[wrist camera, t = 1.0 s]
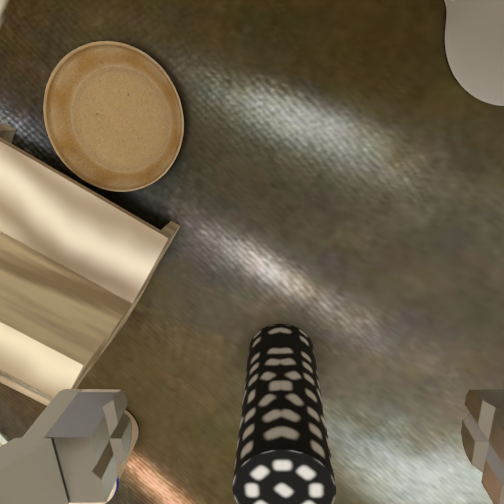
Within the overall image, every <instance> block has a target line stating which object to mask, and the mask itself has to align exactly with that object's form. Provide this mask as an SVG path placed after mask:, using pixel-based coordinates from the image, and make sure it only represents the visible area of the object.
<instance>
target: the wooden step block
mask: <svg viewBox="0 0 504 504" xmlns="http://www.w3.org/2000/svg"><path fill="white" fill-rule="evenodd" d="M15 132H16V129H14V128H12V127H11V126H9V125H7V124H0V382H1V383H3V384H5V385H7V386H9V387H11V388H13V389H15V390H17V391H19V392H21V393H23V394H25V395H27V396H29V397H31V398H33V399H35V400H37V401H39V402H41V403H43V404H45V405H47V406H48V405H49V403H50V402H51V401H52V400H53V398H54V397H55V396H56V395H57V393H58V392H59V391H61V390H64V389H76V388H77V387H78V385H79V384H80V383H81V381H82V380H83V379H84V377H85V376H86V375H87V373H88V372H89V371H90V369H91V368H92V367H93V365H94V364H95V363H96V361H97V360H98V359H99V357H100V356H101V355H102V353H103V352H104V351H105V349H106V348H107V347H108V345H109V344H110V343H111V341H112V340H113V339H114V337H115V336H116V335H117V333H118V332H119V331H120V329H121V328H122V327H123V325H124V324H125V323H126V321H127V320H128V319H129V317H130V315H131V313H132V312H133V310H134V308H135V306H136V304H137V303H138V301H139V299H140V297H141V295H142V294H143V292H144V290H145V288H146V286H147V285H148V283H149V281H150V279H151V277H152V276H153V274H154V272H155V270H156V269H157V267H158V265H159V263H160V261H161V260H162V258H163V256H164V254H165V252H166V251H167V249H168V247H169V245H170V243H171V242H172V240H173V238H174V236H175V234H176V233H177V231H178V229H179V227H180V225H178V224H176V223H175V222H173V221H170V222H169V223H168V224H167V225H166V226H165V227H164V228H163V229H162V230H159V229H158V228H156V227H154V226H152V225H151V224H149V223H147V222H146V221H144V220H142V219H140V218H139V217H137V216H135V215H133V214H132V213H130V212H128V211H127V210H125V209H123V208H121V207H120V206H118V205H116V204H115V203H113V202H111V201H109V200H108V199H106V198H104V197H102V196H101V195H99V194H97V193H96V192H94V191H92V190H90V189H89V188H87V187H85V186H83V185H82V184H80V183H78V182H77V181H75V180H73V179H71V178H70V177H68V176H66V175H64V174H63V173H61V172H59V171H58V170H56V169H54V168H52V167H51V166H49V165H47V164H45V163H44V162H42V161H40V160H39V159H37V158H35V157H33V156H32V155H30V154H28V153H27V152H25V151H23V150H21V149H20V148H18V147H16V146H14V145H13V144H11V143H12V140H13V137H14V135H15Z"/></svg>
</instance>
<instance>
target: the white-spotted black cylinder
mask: <svg viewBox="0 0 504 504" xmlns="http://www.w3.org/2000/svg"><path fill="white" fill-rule="evenodd" d="M233 494H234V498H235V500H236V502H237V504H333V502H334V500H335V495H336V486H335V479H334V473H333V467H332V461H331V454H330V448H329V442H328V436H327V430H326V423H325V417H324V411H323V405H322V399H321V392H320V386H319V380H318V374H317V368H316V361H315V355H314V349H313V345H312V342H311V340H310V339H309V337H308V336H307V335H306V334H305V333H304V332H303V331H302V330H300V329H299V328H296V327H294V326H291V325H287V324H276V325H271V326H268V327H266V328H264V329H262V330H261V331H259V332H258V333H257V334H256V335H255V336H254V338H253V339H252V341H251V343H250V347H249V354H248V362H247V370H246V379H245V387H244V395H243V403H242V411H241V420H240V428H239V436H238V444H237V452H236V460H235V469H234V477H233Z"/></svg>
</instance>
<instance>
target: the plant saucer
mask: <svg viewBox="0 0 504 504" xmlns="http://www.w3.org/2000/svg"><path fill="white" fill-rule="evenodd" d="M43 112H44V121H45V127H46V130H47V133H48V137H49V139H50V141H51V144H52V146H53V148H54V150H55V152H56V153H57V155H58V156H59V157H60V159H61V161H62V162H63V163H64V164H65V165H66V166H67V167H68V168H69V169H70V170H71V171H72V172H73V173H74V174H75V175H77V176H78V177H79V178H81V179H82V180H83V181H85V182H87V183H89V184H91V185H93V186H95V187H98V188H101V189H104V190H108V191H116V192H128V191H134V190H138V189H142V188H144V187H147V186H149V185H151V184H152V183H154V182H156V181H157V180H158V179H160V178H161V177H162V176H163V175H164V174H165V173H166V172H167V171H168V170H169V168H170V167H171V166H172V164H173V163H174V161H175V159H176V157H177V155H178V153H179V150H180V147H181V143H182V139H183V133H184V117H183V110H182V105H181V101H180V98H179V96H178V93H177V91H176V88H175V86H174V84H173V82H172V81H171V79H170V78H169V76H168V75H167V73H166V72H165V71H164V69H163V68H162V67H161V66H160V65H159V64H158V63H157V62H156V61H155V60H154V59H152V58H151V57H150V56H149V55H147V54H146V53H144V52H142V51H141V50H139V49H137V48H135V47H133V46H130V45H127V44H124V43H120V42H113V41H99V42H93V43H89V44H86V45H83V46H80V47H78V48H76V49H75V50H73V51H71V52H70V53H68V54H67V55H66V56H65V57H64V58H63V59H62V60H61V61H60V62H59V63H58V65H57V66H56V67H55V69H54V70H53V72H52V74H51V76H50V78H49V81H48V83H47V86H46V90H45V95H44V106H43Z"/></svg>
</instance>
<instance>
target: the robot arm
mask: <svg viewBox="0 0 504 504" xmlns="http://www.w3.org/2000/svg"><path fill="white" fill-rule="evenodd" d="M444 2H445V5H446V12H447V13H446V26H445V49H446V55H447V59H448V63H449V66H450V68H451V71H452V73H453V75H454V76H455V78H456V79H457V81H458V82H459V84H460V85H461V86H462V87H463V88H464V89H465V90H466V91H467V92H468V93H470V94H471V95H472V96H474V97H475V98H477V99H479V100H481V101H483V102H486V103H489V104H493V105H499V106H504V0H444ZM127 405H128V401H127V397H126V393H125V392H124V391H122V390H103V389H83V390H82V389H64V390H61V391H59V392H58V393H57V395H56V396H55V397H54V398H53V400H52V401H51V402H50V403H49V405H48V406H47V407H46V408H45V410H44V411H43V412H42V413H41V415H40V416H39V417H38V418H37V420H36V421H35V422H34V423H33V425H32V426H31V427H30V428H29V430H28V431H27V432H26V433H25V435H24V436H23V437H22V438H14V439H13V440H11V441H9V442H8V443H6V444H4V445H2V446H1V447H0V504H69V503H106V502H107V500H108V498H109V495H110V493H111V491H112V489H113V487H114V484H115V482H116V480H117V478H118V473H117V468H116V467H117V466H119V465H120V464H121V463H122V462H124V461H125V460H126V457H127V455H128V453H129V450H130V446H131V441H132V423H131V418H130V417H129V416H128V415H127V414H126V413H125V412H124V411H125V409H126V407H127ZM465 405H466V407H467V408H468V410H469V412H470V413H469V414H468V415H467V416H466V417H465V418H464V419H463V420H462V429H461V434H462V441H463V446H464V449H465V452H466V455H467V457H468V459H469V460H470V462H471V464H472V465H473V466H474V467H476V468H477V469H479V470H480V471H481V472H483V476H482V484H483V486H484V488H485V489H486V491H487V493H488V495H489V497H490V498H491V500H492V502H493V504H504V390H469V392H468V393H467V395H466V401H465Z"/></svg>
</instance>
